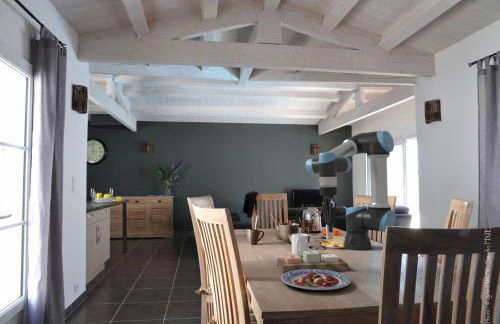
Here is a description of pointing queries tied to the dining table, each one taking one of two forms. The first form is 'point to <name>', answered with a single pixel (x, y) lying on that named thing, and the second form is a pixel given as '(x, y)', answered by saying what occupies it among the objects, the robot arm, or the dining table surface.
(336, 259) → the tile one
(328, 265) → the button board
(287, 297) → the dining table surface
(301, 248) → the cup
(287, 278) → the ceramic plate
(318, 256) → the tile two
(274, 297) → the dining table surface
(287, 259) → the tile three
